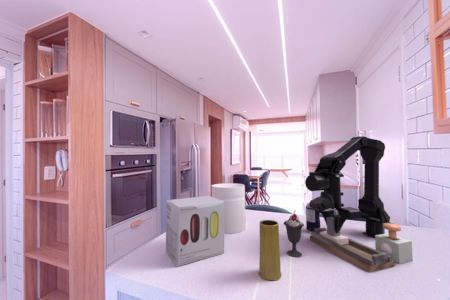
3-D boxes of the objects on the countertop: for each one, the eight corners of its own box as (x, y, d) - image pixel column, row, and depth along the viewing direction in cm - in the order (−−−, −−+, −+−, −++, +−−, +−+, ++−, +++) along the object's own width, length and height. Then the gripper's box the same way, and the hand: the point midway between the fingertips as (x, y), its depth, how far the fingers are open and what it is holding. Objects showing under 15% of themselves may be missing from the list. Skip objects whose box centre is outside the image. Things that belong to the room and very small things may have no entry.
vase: (256, 268, 58) (255, 219, 59) (277, 267, 59) (275, 218, 59) (262, 281, 52) (261, 226, 53) (284, 280, 53) (283, 225, 53)
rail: (329, 236, 82) (329, 226, 82) (394, 266, 59) (393, 252, 59) (309, 239, 79) (309, 229, 79) (369, 272, 56) (368, 257, 56)
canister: (251, 225, 96) (250, 184, 97) (235, 236, 83) (234, 188, 84) (223, 220, 105) (223, 182, 106) (204, 229, 91) (204, 186, 92)
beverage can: (322, 234, 84) (321, 205, 85) (307, 233, 85) (307, 205, 86) (318, 229, 90) (317, 202, 90) (305, 228, 91) (304, 202, 92)
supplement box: (177, 268, 59) (177, 207, 60) (165, 251, 70) (165, 199, 71) (226, 253, 68) (225, 200, 69) (208, 240, 79) (208, 194, 80)
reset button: (390, 236, 67) (389, 222, 67) (405, 241, 63) (404, 226, 63) (380, 238, 66) (380, 223, 66) (395, 243, 62) (394, 228, 62)
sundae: (295, 260, 63) (293, 212, 63) (280, 251, 69) (279, 208, 69) (309, 255, 66) (308, 210, 66) (293, 247, 72) (292, 206, 72)
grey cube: (388, 250, 68) (387, 233, 69) (412, 260, 62) (411, 241, 62) (374, 253, 67) (374, 235, 67) (398, 264, 60) (397, 243, 60)
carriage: (330, 235, 78) (329, 215, 78) (348, 243, 70) (347, 220, 71) (319, 237, 77) (319, 216, 77) (337, 245, 69) (336, 222, 69)
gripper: (297, 187, 81) (298, 225, 80) (335, 194, 63) (337, 244, 62) (319, 185, 84) (321, 223, 83) (361, 192, 66) (363, 240, 66)
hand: (333, 231), depth 74 cm, fingers closed on carriage, 3 cm apart
